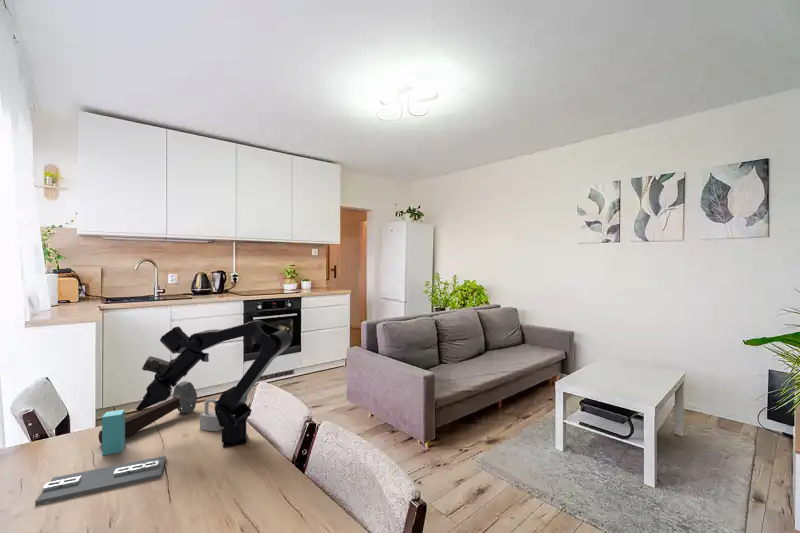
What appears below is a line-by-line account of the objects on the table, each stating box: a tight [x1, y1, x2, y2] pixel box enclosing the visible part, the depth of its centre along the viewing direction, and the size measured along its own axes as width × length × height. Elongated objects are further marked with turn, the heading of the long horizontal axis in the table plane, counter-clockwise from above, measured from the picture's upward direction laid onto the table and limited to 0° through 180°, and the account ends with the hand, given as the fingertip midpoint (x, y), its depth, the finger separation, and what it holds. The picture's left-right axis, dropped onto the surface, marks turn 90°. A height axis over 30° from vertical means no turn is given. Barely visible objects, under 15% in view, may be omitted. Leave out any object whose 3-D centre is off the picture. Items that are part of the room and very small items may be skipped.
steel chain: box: [41, 460, 159, 493], centre depth 92 cm, size 23×2×1 cm, turn 116°
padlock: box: [199, 398, 222, 432], centre depth 121 cm, size 7×4×10 cm, turn 75°
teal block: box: [101, 409, 126, 456], centre depth 107 cm, size 4×4×11 cm
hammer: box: [98, 380, 198, 445], centre depth 123 cm, size 5×11×30 cm
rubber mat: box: [34, 455, 167, 506], centre depth 93 cm, size 24×10×1 cm, turn 116°
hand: (140, 404), depth 110 cm, fingers open, 9 cm apart
